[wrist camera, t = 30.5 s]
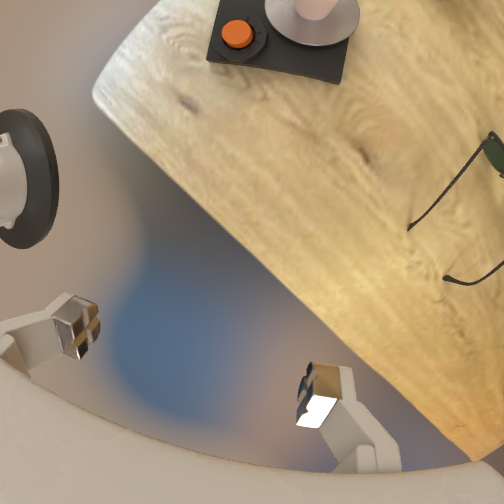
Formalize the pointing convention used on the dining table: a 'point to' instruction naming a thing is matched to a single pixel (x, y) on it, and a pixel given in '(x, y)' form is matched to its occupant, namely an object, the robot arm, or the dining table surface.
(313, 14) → the smoothie
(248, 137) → the dining table surface
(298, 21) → the scale pan
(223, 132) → the dining table surface
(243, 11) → the scale
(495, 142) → the sunglasses
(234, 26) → the tare button
